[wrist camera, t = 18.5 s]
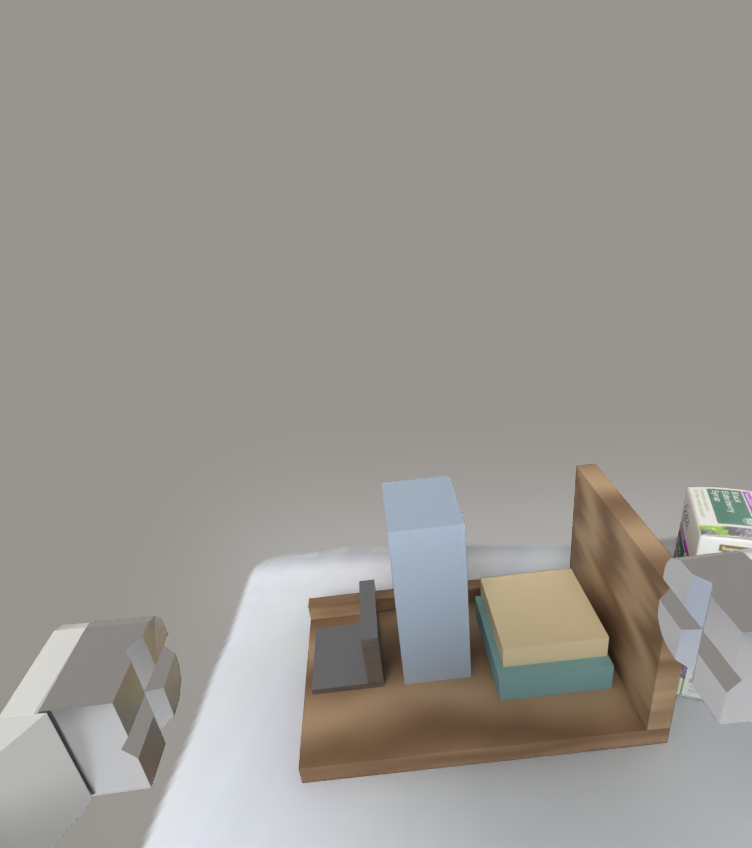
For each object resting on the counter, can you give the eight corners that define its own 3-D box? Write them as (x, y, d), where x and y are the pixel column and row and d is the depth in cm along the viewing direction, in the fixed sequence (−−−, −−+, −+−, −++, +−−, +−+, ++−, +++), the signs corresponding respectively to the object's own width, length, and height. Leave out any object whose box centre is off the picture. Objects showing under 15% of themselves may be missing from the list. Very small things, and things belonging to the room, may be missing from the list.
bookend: (384, 686, 41) (377, 637, 38) (312, 694, 41) (302, 646, 38) (380, 625, 46) (374, 579, 44) (317, 632, 46) (307, 587, 44)
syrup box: (656, 634, 44) (681, 482, 38) (741, 648, 42) (782, 490, 36) (665, 694, 39) (695, 532, 33) (761, 713, 37) (812, 544, 31)
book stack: (611, 688, 39) (616, 647, 37) (499, 700, 39) (499, 660, 37) (569, 604, 46) (572, 568, 44) (475, 615, 46) (474, 579, 44)
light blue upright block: (456, 616, 46) (449, 475, 40) (471, 677, 41) (465, 523, 35) (398, 623, 46) (381, 483, 40) (404, 684, 41) (386, 532, 35)
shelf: (666, 742, 36) (697, 587, 30) (302, 782, 36) (263, 635, 30) (584, 593, 49) (595, 463, 43) (314, 623, 49) (288, 498, 43)
